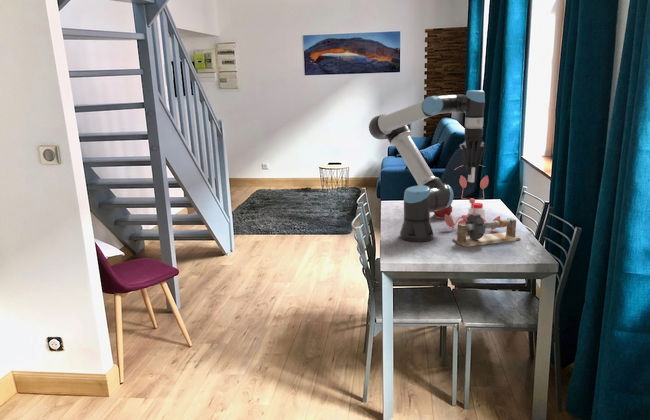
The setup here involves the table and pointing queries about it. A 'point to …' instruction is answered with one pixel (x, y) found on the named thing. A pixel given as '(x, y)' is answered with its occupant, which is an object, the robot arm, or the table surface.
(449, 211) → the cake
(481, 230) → the square-toothed gear
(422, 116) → the robot arm
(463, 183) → the figurine
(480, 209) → the pill bottle
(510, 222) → the pipe rig
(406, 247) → the table surface
